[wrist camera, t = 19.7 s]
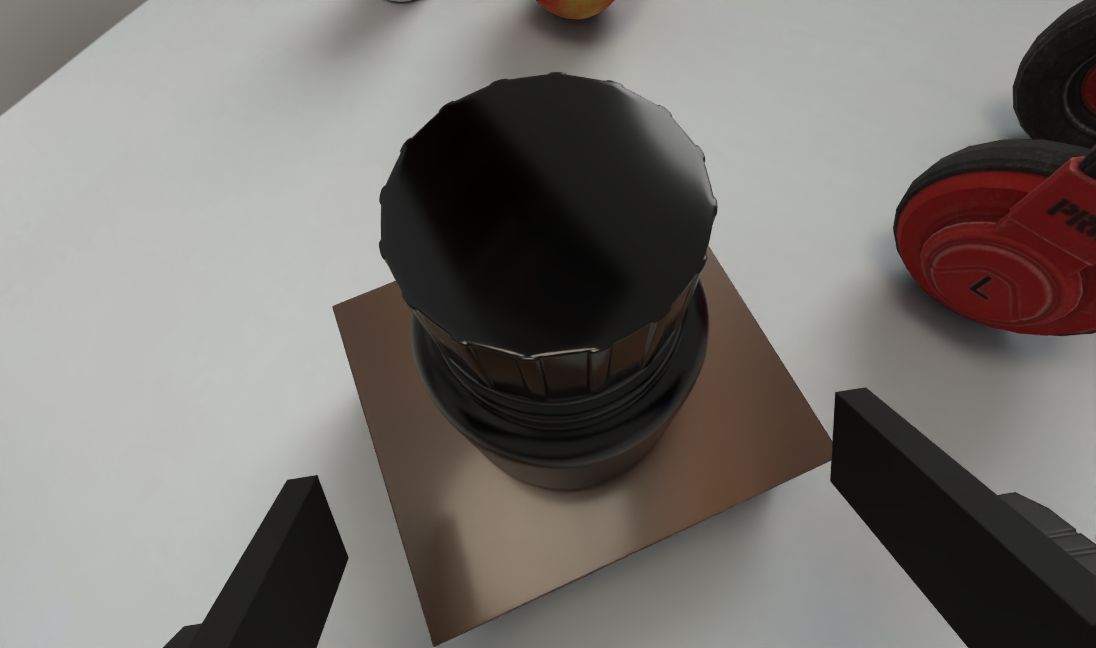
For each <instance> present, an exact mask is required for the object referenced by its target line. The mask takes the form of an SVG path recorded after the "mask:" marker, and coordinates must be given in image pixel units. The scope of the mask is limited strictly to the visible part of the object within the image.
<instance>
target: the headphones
mask: <svg viewBox="0 0 1096 648" xmlns="http://www.w3.org/2000/svg"><path fill="white" fill-rule="evenodd" d="M1013 108H1014V110H1015V113H1016V115H1017V118H1018V120H1019V123H1020V125H1021V127H1022V128H1023V130H1024V131H1025V132H1026V133H1027V134H1028V136H1029V137H1030V138H1031V139H1032V140H999V141H994V142H989V143H984V144H979V145H974V146H969V147H966V148H964V149H962V150H960V151H957V152H955V153H953V154H951V155H948V156H946V157H944V158H942V159H940V160H939V161H938V162H936V163H935V164H934V165H932V166H931V167H930V168H929V169H927V170H926V171H925V172H924V173H923V174H921V175H920V176H919V177H918V178H916V179H915V180H914V181H913V182H912V184H911V185H910V187H909V189H908V190H907V192H906V193H905V195H904V197H903V198H902V200H901V202H900V203H899V205H898V207H897V209H896V214H895V220H894V226H893V231H894V236H895V242H896V247H897V251H898V253H899V255H900V257H901V258H902V260H903V262H904V264H905V266H906V268H907V269H908V271H909V272H910V273H911V275H912V276H913V278H914V279H915V280H916V281H917V282H918V283H919V284H920V285H921V287H922V288H923V289H924V290H925V291H926V292H927V293H929V294H930V295H931V296H932V297H934V298H935V299H936V300H938V301H939V302H940V303H941V304H943V305H944V306H946V307H948V308H950V309H951V310H953V311H955V312H957V313H959V314H961V315H962V316H964V317H966V318H969V319H971V320H974V321H977V322H979V323H982V324H985V325H987V326H990V327H993V328H998V329H1002V330H1006V331H1011V332H1015V333H1021V334H1033V335H1046V336H1048V335H1053V336H1067V335H1079V334H1092V333H1095V332H1096V0H1083V1H1082V2H1080V3H1078V4H1077V5H1075V6H1073V7H1071V8H1070V9H1068V10H1067V11H1066V12H1064V13H1063V14H1062V15H1061V16H1060V17H1058V18H1057V19H1056V20H1055V21H1054V22H1053V23H1052V24H1051V25H1050V26H1048V27H1047V28H1046V29H1045V30H1044V31H1043V32H1042V33H1041V34H1040V35H1039V36H1038V37H1037V38H1036V40H1035V41H1034V43H1033V44H1032V45H1031V47H1030V48H1029V50H1028V51H1027V53H1026V54H1025V56H1024V57H1023V59H1022V61H1021V63H1020V65H1019V69H1018V72H1017V75H1016V78H1015V81H1014V85H1013Z"/></svg>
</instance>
